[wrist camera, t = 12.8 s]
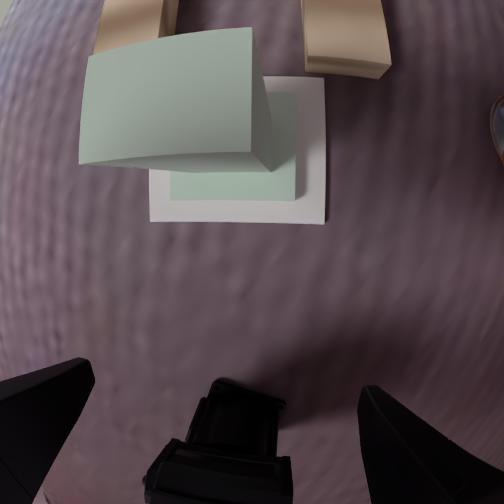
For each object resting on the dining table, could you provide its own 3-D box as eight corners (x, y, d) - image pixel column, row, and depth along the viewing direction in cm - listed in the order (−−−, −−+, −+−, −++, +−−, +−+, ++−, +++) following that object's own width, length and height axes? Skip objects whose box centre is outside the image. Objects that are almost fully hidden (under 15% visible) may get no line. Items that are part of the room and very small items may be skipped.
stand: (378, 79, 17) (391, 64, 14) (110, 90, 19) (89, 80, 16) (361, -24, 15) (369, -44, 12) (126, -8, 17) (111, -23, 14)
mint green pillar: (294, 200, 19) (312, 226, 7) (175, 199, 20) (47, 224, 8) (294, 96, 18) (306, -17, 6) (177, 101, 19) (64, 27, 6)
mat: (323, 223, 20) (324, 224, 19) (152, 221, 21) (150, 221, 21) (323, 79, 18) (323, 78, 17) (154, 87, 19) (152, 86, 18)
